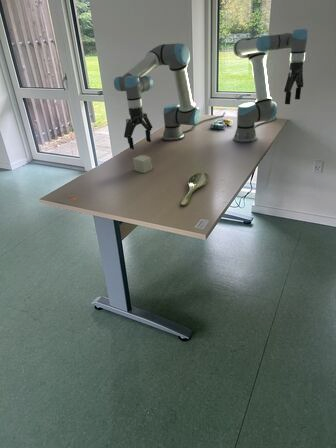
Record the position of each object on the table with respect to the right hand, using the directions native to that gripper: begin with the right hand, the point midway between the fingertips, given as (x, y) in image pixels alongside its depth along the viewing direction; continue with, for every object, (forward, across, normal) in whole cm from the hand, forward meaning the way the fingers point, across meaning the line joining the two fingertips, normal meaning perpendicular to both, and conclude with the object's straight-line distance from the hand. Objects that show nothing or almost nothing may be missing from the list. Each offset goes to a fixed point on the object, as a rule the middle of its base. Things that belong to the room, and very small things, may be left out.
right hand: (292, 101), depth 195 cm
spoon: (+29, +78, -14) cm, 84 cm away
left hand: (+14, +71, -57) cm, 92 cm away
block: (+29, +72, -57) cm, 96 cm away
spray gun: (+29, -26, -66) cm, 76 cm away
